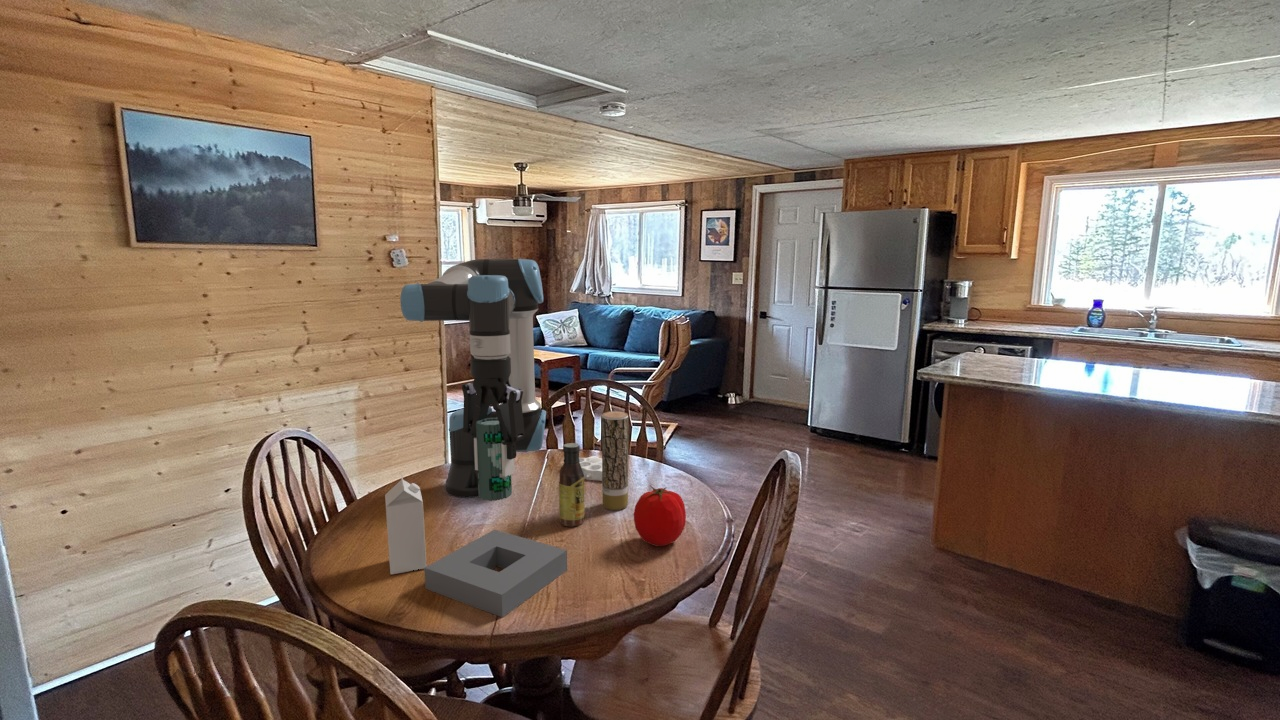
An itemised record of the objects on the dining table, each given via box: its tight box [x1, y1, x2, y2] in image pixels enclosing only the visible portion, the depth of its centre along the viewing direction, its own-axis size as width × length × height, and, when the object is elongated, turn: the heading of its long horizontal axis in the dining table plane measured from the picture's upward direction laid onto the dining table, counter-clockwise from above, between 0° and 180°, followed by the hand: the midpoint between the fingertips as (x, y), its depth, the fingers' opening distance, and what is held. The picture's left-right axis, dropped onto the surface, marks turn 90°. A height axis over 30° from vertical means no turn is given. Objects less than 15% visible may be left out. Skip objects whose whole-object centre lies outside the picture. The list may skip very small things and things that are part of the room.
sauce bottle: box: [558, 442, 585, 527], centre depth 151 cm, size 6×6×20 cm
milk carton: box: [384, 474, 427, 575], centre depth 130 cm, size 7×7×19 cm
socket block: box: [423, 529, 568, 618], centre depth 125 cm, size 20×20×4 cm
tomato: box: [633, 485, 687, 547], centre depth 141 cm, size 12×12×13 cm
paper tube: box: [601, 410, 629, 511], centre depth 161 cm, size 7×7×25 cm
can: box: [476, 418, 513, 501], centre depth 121 cm, size 6×6×15 cm
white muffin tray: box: [579, 455, 602, 482], centre depth 188 cm, size 3×18×15 cm
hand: (494, 470), depth 122 cm, fingers closed on can, 6 cm apart
